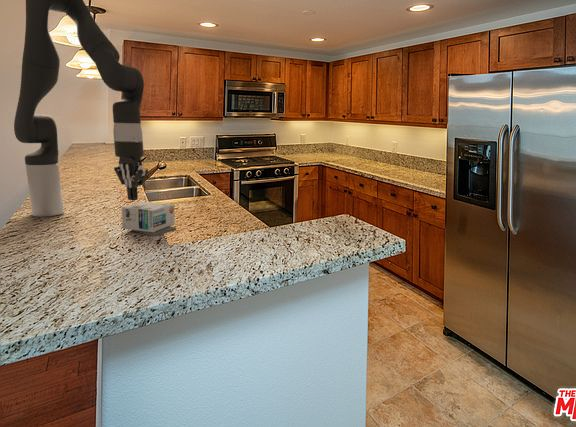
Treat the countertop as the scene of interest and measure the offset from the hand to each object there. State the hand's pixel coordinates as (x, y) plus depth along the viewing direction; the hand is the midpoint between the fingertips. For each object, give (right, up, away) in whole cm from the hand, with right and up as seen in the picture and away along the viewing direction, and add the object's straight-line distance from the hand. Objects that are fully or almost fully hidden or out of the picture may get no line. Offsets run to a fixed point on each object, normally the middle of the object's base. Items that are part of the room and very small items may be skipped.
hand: (132, 199), depth 107 cm
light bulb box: (-1, -4, +3) cm, 5 cm away
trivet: (+6, -9, +1) cm, 11 cm away
